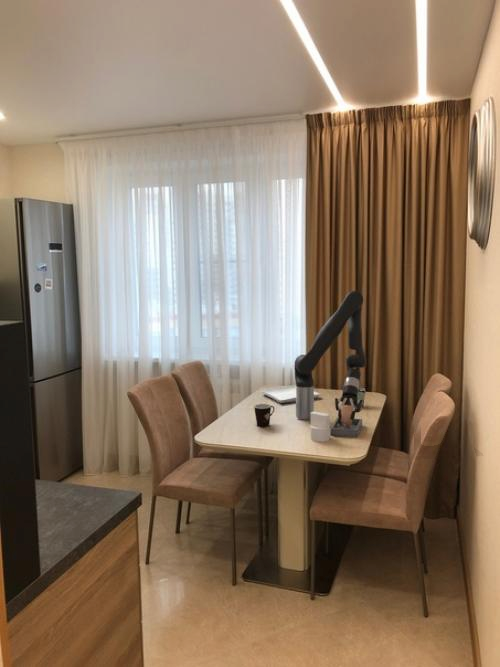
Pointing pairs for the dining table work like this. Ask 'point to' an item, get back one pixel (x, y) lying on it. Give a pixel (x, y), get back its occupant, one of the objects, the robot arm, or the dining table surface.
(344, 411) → the tan upright block
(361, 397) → the food container
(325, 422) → the cylinder with rectangular tab
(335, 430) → the tray
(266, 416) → the coffee mug
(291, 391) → the closed laptop
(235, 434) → the dining table surface
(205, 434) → the dining table surface
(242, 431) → the dining table surface
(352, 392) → the robot arm
